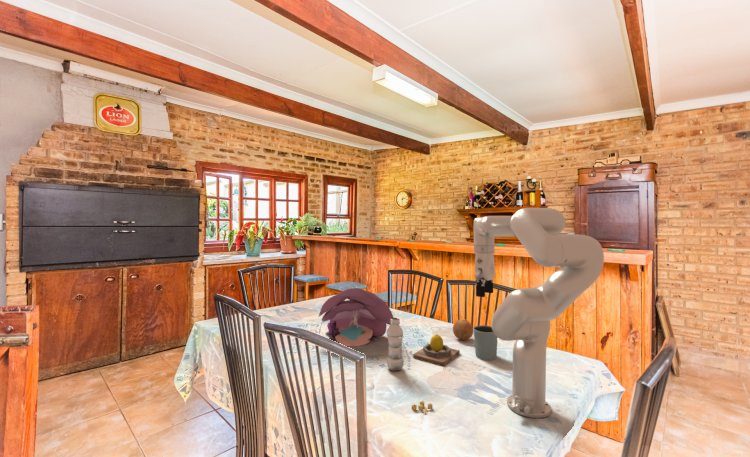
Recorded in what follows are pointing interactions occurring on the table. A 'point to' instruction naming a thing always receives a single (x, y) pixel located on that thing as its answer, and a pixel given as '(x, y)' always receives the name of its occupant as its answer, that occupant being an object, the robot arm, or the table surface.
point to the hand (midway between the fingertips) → (484, 294)
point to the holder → (436, 355)
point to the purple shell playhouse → (355, 316)
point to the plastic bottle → (395, 345)
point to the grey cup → (485, 342)
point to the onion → (463, 329)
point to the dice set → (421, 406)
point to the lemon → (436, 343)
